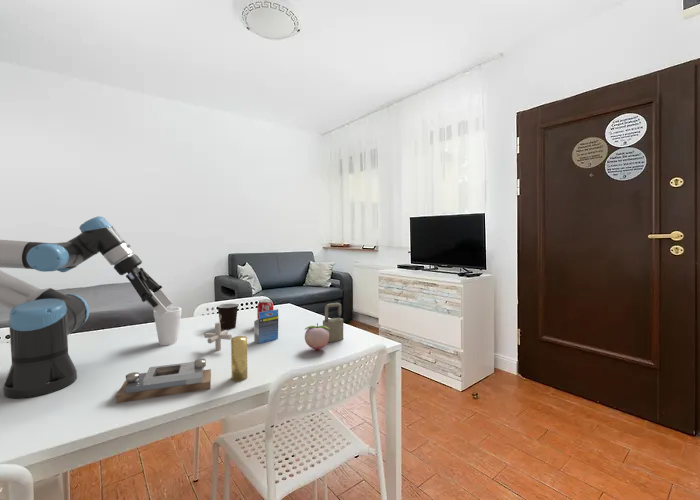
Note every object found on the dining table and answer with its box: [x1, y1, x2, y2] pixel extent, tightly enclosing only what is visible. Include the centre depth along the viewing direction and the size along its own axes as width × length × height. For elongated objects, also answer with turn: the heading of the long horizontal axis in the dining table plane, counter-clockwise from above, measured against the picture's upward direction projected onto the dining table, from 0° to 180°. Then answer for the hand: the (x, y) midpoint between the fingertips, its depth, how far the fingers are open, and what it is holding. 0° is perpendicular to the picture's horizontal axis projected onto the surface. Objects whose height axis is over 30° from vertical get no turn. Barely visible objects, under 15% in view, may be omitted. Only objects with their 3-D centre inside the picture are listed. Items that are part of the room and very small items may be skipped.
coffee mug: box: [217, 303, 239, 331], centre depth 150 cm, size 12×9×10 cm
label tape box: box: [253, 308, 279, 344], centre depth 134 cm, size 9×4×12 cm, turn 135°
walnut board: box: [115, 368, 212, 404], centre depth 93 cm, size 22×9×2 cm, turn 111°
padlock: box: [322, 302, 344, 343], centre depth 135 cm, size 4×8×15 cm, turn 122°
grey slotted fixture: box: [125, 358, 207, 394], centre depth 93 cm, size 20×9×5 cm, turn 111°
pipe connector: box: [203, 321, 233, 352], centre depth 123 cm, size 10×10×10 cm
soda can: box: [256, 298, 274, 320], centre depth 153 cm, size 7×7×12 cm
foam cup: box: [153, 306, 183, 346], centre depth 130 cm, size 10×9×13 cm
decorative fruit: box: [303, 322, 330, 351], centre depth 123 cm, size 9×8×10 cm
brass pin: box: [230, 335, 249, 382], centre depth 100 cm, size 4×4×12 cm
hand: (166, 309), depth 116 cm, fingers open, 13 cm apart
